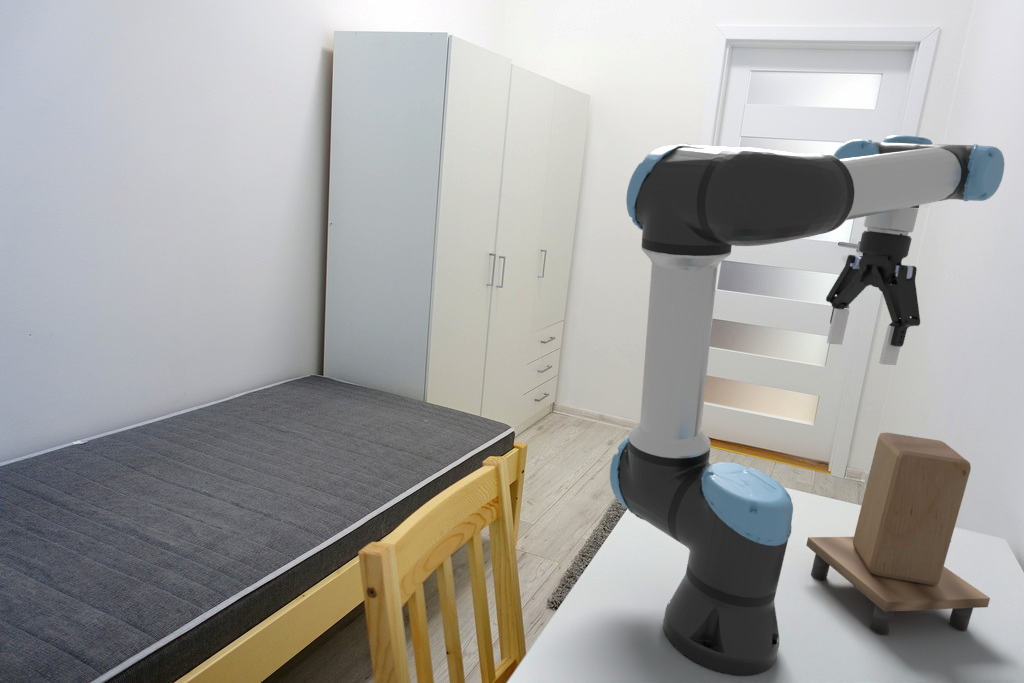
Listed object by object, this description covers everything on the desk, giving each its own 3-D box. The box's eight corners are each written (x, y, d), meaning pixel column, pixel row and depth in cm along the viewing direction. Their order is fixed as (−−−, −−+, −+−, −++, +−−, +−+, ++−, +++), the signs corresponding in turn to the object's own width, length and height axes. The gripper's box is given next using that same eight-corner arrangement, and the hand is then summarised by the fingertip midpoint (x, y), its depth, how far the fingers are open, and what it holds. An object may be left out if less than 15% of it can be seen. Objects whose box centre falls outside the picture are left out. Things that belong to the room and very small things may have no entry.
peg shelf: (877, 639, 101) (886, 602, 100) (800, 569, 118) (808, 537, 117) (979, 634, 105) (990, 598, 104) (891, 567, 122) (899, 536, 121)
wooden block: (940, 589, 105) (975, 463, 100) (869, 576, 106) (901, 452, 102) (913, 555, 115) (944, 439, 110) (849, 544, 116) (877, 429, 111)
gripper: (966, 242, 109) (932, 375, 114) (856, 227, 132) (831, 337, 137) (926, 237, 107) (893, 372, 112) (821, 223, 131) (798, 335, 135)
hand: (859, 353), depth 124 cm, fingers open, 13 cm apart
